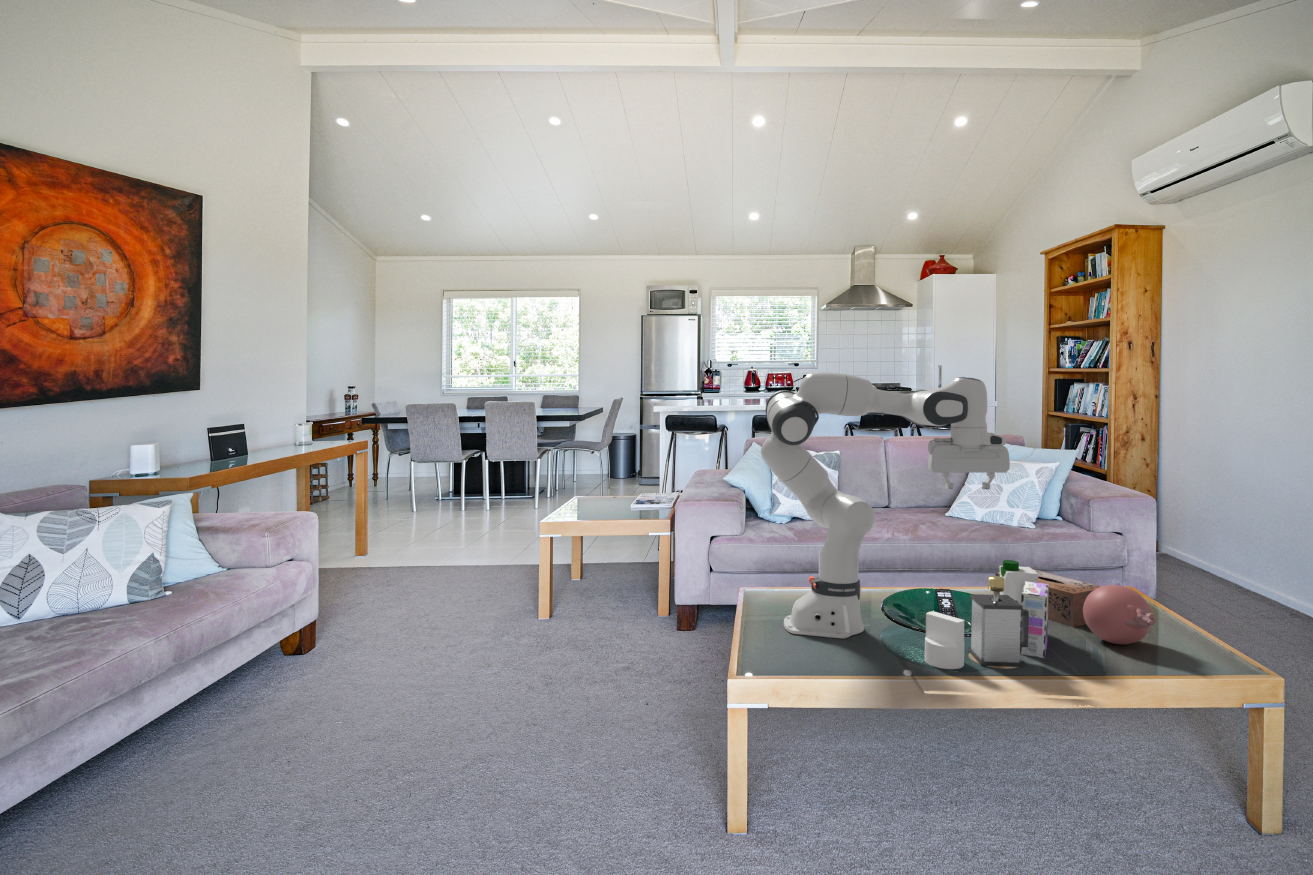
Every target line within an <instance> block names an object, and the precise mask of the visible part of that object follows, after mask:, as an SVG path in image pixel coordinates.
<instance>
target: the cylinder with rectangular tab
mask: <svg viewBox="0 0 1313 875" xmlns="http://www.w3.org/2000/svg"><path fill="white" fill-rule="evenodd" d="M924 661H925V663H926V664H928V665H930V666H931V667H935V668H939V669H944V670H956V669H957V670H959V669H961V668H963V667H964V666H965V619H962V618H959V617H958V618H957V617H954V616H951V615H948V614H944V613H941V612H937V611H934V610H932V611H928V612H926V614H925V637H924Z"/></svg>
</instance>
